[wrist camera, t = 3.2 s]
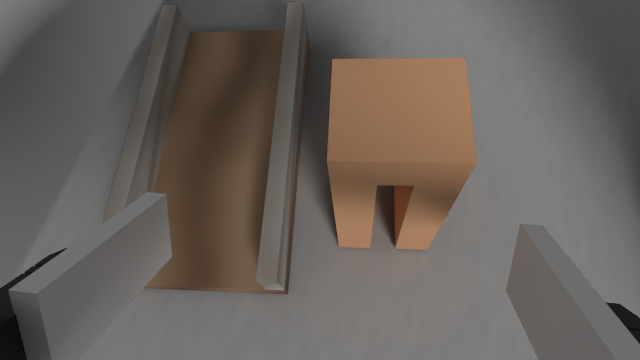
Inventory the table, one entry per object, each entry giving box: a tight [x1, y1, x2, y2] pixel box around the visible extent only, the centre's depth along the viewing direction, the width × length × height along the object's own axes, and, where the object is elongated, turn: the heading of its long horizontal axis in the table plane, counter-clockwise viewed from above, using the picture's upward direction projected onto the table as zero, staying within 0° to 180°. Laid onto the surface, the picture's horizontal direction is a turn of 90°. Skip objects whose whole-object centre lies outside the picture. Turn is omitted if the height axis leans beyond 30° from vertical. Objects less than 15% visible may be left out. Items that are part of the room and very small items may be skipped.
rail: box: [102, 2, 309, 294], centre depth 26 cm, size 10×18×4 cm, turn 177°
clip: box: [327, 58, 477, 250], centre depth 20 cm, size 5×4×11 cm
